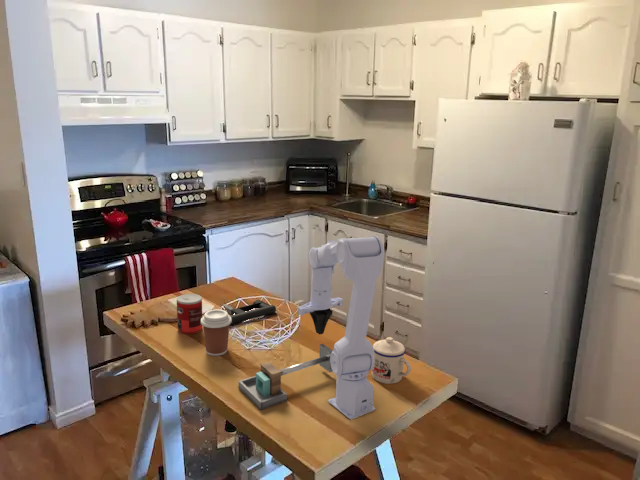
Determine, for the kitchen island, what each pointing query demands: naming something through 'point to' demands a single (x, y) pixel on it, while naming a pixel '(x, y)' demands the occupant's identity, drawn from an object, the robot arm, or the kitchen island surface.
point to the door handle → (253, 314)
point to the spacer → (263, 384)
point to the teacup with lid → (389, 361)
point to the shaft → (312, 362)
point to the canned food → (189, 313)
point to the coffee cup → (216, 331)
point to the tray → (256, 397)
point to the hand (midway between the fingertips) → (319, 332)
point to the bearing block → (272, 377)
